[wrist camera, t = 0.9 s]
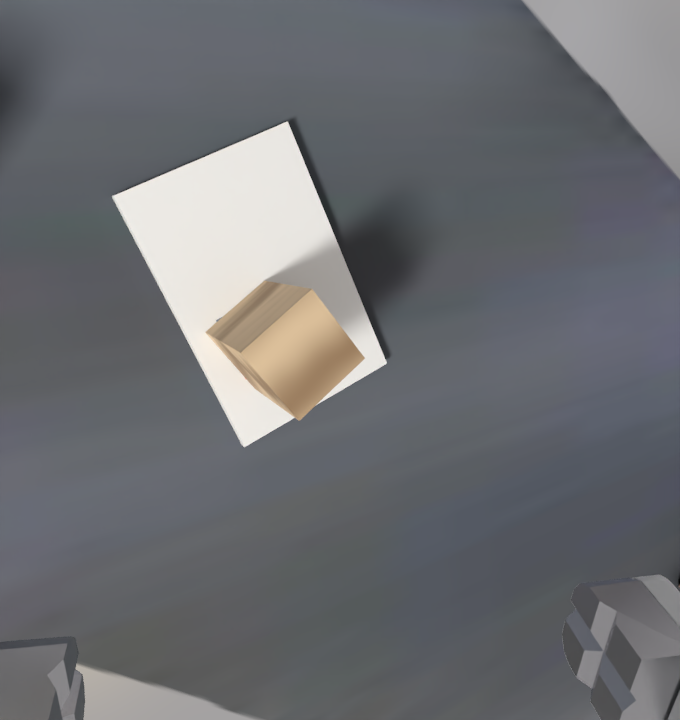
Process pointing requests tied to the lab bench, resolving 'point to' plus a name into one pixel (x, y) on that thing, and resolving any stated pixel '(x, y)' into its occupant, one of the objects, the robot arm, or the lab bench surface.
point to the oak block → (286, 345)
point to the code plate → (243, 256)
